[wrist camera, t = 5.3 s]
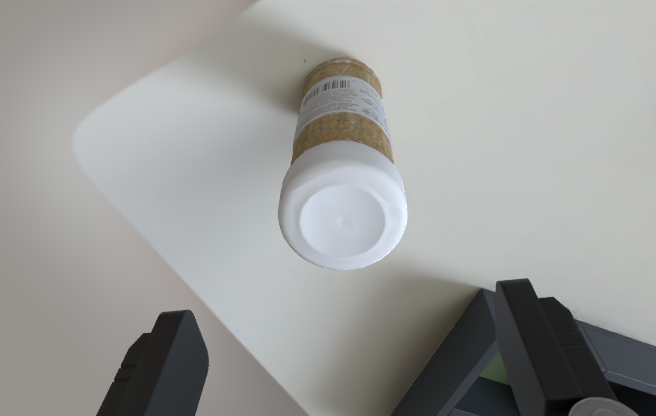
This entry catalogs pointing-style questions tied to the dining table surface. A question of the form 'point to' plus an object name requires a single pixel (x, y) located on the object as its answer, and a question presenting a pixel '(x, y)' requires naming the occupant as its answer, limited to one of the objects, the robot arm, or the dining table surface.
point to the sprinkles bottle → (342, 172)
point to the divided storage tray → (491, 378)
